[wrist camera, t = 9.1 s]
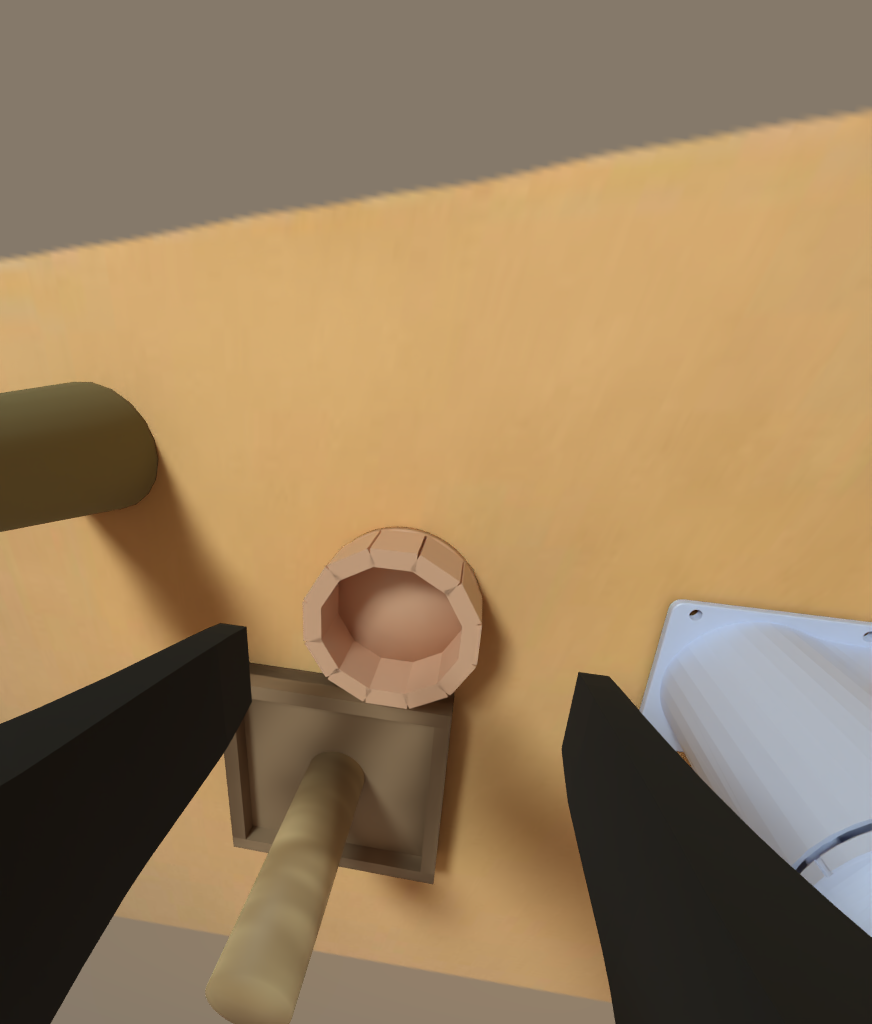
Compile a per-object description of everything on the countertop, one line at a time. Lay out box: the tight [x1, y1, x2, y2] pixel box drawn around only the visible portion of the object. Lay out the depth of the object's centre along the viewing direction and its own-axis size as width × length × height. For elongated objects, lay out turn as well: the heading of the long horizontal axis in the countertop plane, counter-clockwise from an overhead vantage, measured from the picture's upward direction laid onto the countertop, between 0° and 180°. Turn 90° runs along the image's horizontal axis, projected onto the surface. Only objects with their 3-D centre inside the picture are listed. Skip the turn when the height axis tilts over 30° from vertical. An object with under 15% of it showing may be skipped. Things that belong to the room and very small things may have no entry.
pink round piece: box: [303, 527, 483, 709], centre depth 19 cm, size 8×8×3 cm
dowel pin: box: [205, 751, 365, 1024], centre depth 19 cm, size 3×3×9 cm
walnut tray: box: [224, 663, 454, 884], centre depth 23 cm, size 12×12×2 cm
